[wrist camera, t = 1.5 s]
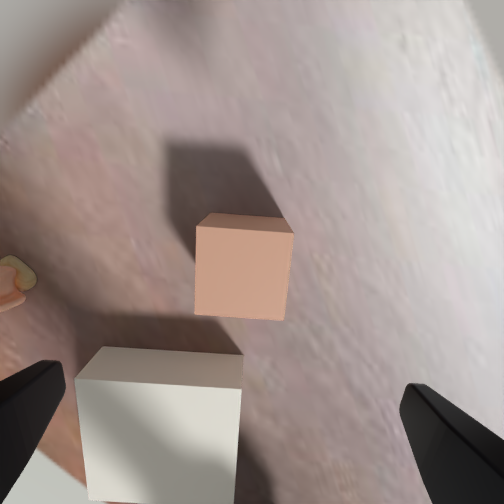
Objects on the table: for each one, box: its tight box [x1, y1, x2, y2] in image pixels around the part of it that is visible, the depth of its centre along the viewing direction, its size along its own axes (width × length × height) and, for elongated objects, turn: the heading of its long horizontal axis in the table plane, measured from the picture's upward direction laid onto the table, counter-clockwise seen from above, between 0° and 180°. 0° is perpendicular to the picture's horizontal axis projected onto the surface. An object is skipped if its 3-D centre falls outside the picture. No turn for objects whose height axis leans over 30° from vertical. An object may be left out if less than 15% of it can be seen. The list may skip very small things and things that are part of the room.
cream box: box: [74, 346, 244, 504], centre depth 22 cm, size 11×11×4 cm
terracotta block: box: [195, 213, 294, 321], centre depth 18 cm, size 5×5×5 cm
